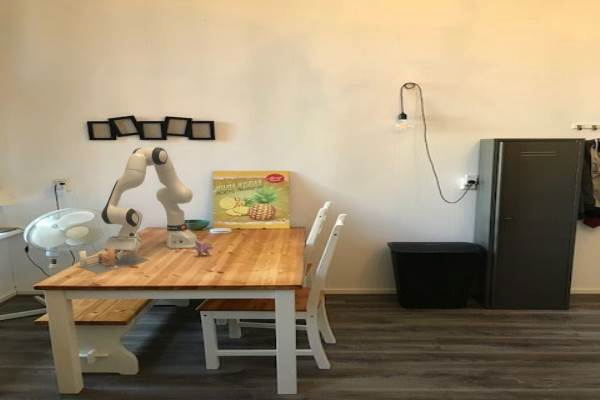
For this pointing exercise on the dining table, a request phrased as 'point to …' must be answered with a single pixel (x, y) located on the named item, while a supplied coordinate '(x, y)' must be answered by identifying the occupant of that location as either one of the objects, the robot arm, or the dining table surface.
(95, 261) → the fixed fence section
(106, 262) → the hinged fence section
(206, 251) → the lily
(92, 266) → the board
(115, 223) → the robot arm
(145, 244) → the dining table surface
